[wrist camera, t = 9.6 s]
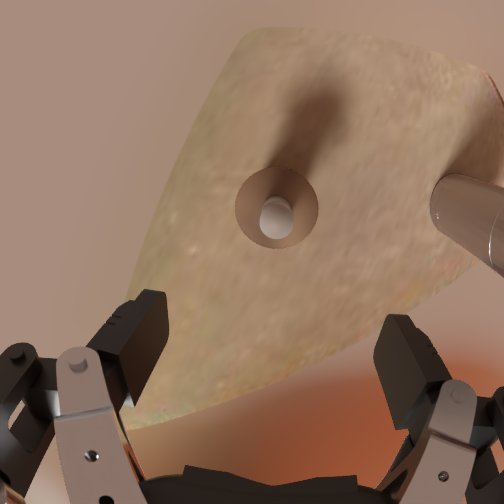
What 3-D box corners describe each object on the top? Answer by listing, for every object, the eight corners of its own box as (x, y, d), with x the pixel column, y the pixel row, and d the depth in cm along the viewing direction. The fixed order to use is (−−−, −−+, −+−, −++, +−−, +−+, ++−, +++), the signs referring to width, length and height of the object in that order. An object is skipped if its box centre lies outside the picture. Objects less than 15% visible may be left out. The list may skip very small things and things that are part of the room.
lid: (321, 171, 25) (332, 178, 20) (311, 249, 28) (318, 272, 23) (238, 163, 26) (229, 169, 21) (234, 242, 28) (225, 263, 24)
